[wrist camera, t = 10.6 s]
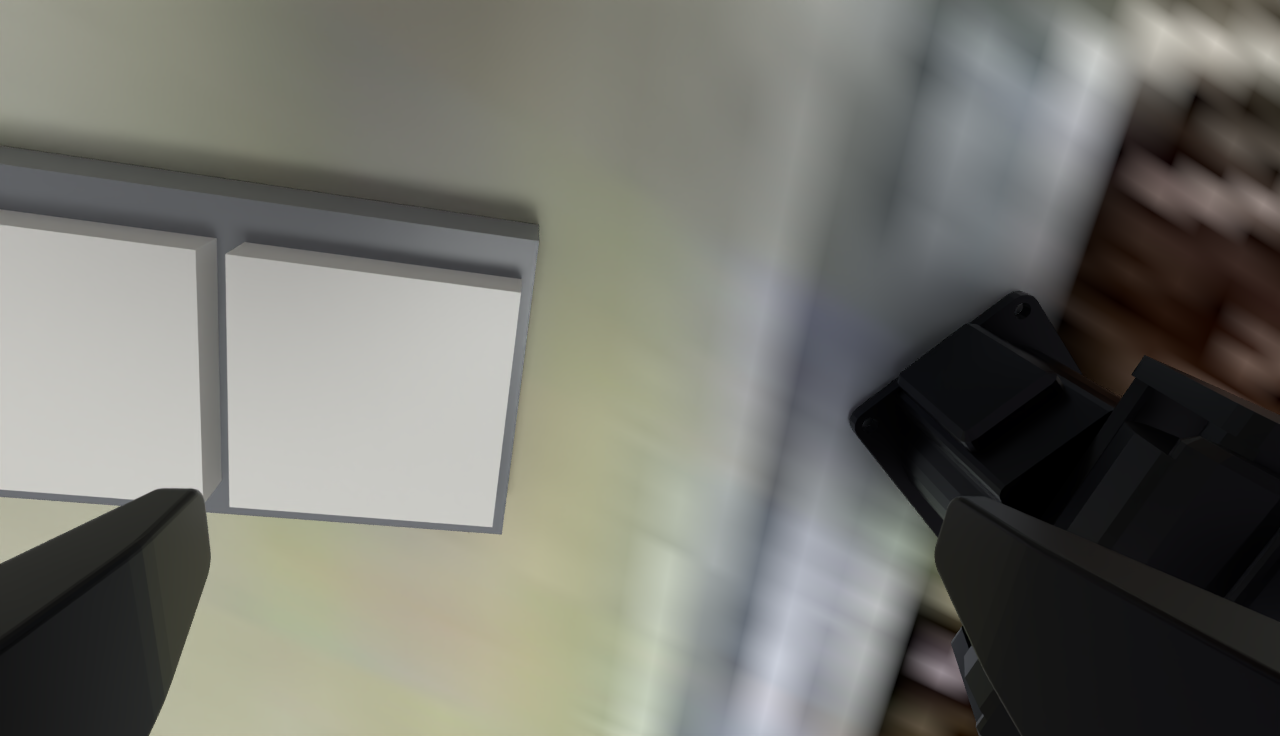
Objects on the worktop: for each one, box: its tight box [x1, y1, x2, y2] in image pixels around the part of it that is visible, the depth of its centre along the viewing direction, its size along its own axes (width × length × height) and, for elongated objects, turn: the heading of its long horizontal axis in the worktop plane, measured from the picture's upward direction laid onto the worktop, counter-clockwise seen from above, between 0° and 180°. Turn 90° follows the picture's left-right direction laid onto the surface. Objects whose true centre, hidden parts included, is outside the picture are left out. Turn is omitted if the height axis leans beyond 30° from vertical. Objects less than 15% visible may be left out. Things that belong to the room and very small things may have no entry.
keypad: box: [0, 146, 539, 534], centre depth 19 cm, size 22×8×3 cm, turn 80°
